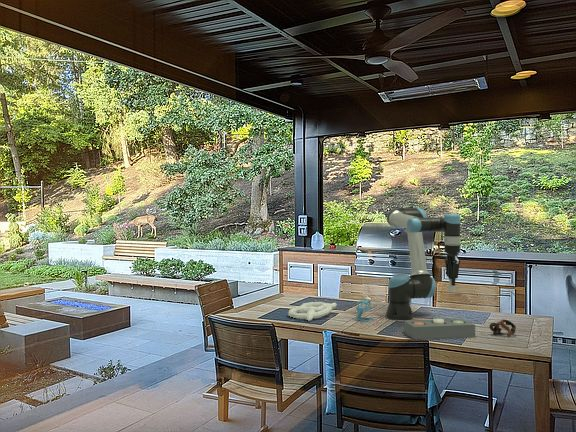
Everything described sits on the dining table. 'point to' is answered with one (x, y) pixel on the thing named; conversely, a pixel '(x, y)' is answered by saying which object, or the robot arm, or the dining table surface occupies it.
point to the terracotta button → (418, 323)
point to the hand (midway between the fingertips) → (452, 291)
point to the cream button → (438, 321)
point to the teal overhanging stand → (361, 309)
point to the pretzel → (311, 310)
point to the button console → (439, 329)
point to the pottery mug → (497, 329)
